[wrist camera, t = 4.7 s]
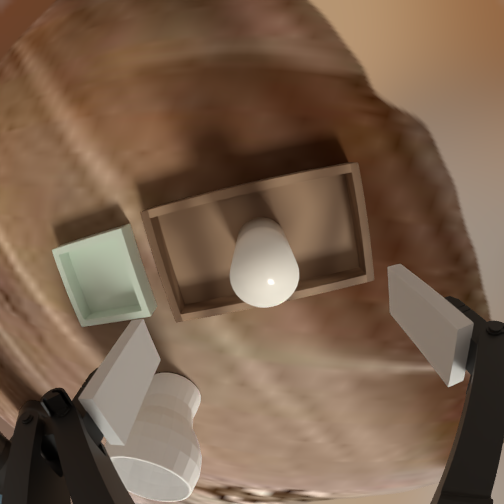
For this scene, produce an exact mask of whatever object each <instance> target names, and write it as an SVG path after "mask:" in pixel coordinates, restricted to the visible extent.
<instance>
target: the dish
mask: <svg viewBox="0 0 504 504" xmlns="http://www.w3.org/2000/svg"><path fill="white" fill-rule="evenodd" d="M52 252H53V255H54V258H55V261H56V264H57V267H58V270H59V272H60V275H61V278H62V281H63V283H64V286H65V288H66V291H67V294H68V296H69V299H70V301H71V303H72V306H73V308H74V311H75V313H76V315H77V318H78V320H79V322H80V324H81V326H82V327H85V326H92V325H99V324H106V323H112V322H119V321H125V320H131V319H138V318H144V317H150V316H151V315H152V314H153V312H154V311H155V309H156V307H157V304H156V301H155V298H154V296H153V293H152V290H151V287H150V284H149V281H148V279H147V276H146V273H145V270H144V267H143V264H142V260H141V257H140V254H139V251H138V248H137V245H136V241H135V238H134V235H133V231H132V228H131V225H130V224H127V225H123V226H120V227H116V228H113V229H110V230H106V231H103V232H100V233H96V234H93V235H90V236H87V237H84V238H81V239H77V240H74V241H71V242H68V243H65V244H62V245H60V246H58V247H56V248H54V249H52Z"/></svg>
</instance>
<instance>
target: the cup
mask: <svg viewBox="0 0 504 504" xmlns="http://www.w3.org/2000/svg"><path fill="white" fill-rule="evenodd" d="M200 402H201V395H200V392H199V390H198V388H197V387H196V386H195V385H194V384H193V383H192V382H191V381H190V380H188V379H187V378H185V377H183V376H180V375H178V374H174V373H158V374H155V375H154V376H153V379H152V381H151V383H150V386H149V388H148V390H147V393H146V395H145V397H144V400H143V402H142V405H141V407H140V409H139V412H138V414H137V417H136V419H135V421H134V424H133V426H132V429H131V431H130V434H129V436H128V439H127V441H126V444H125V446H123V445H110V444H109V442H108V441H106V444H105V449H106V451H107V453H108V455H109V457H110V459H111V461H112V463H113V465H114V467H115V469H116V471H117V473H118V475H119V477H120V478H121V480H122V482H123V484H124V486H125V488H126V489H127V491H129V492H131V493H133V494H136V495H138V496H141V497H144V498H147V499H152V500H156V501H164V502H175V501H181V500H184V499H186V498H188V497H189V496H190V494H191V493H192V491H193V489H194V487H195V485H196V483H197V481H198V479H199V476H200V470H201V462H202V456H201V451H200V446H199V442H198V439H197V437H196V435H195V432H194V430H193V418H194V416H195V414H196V412H197V410H198V407H199V405H200Z"/></svg>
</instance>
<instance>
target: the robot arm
mask: <svg viewBox="0 0 504 504" xmlns="http://www.w3.org/2000/svg"><path fill="white" fill-rule="evenodd" d="M387 268H388V283H389V303H390V314H391V315H392V316H393V318H394V319H395V320H396V321H397V322H398V324H399V325H400V326H401V327H402V329H403V330H404V331H405V332H406V333H407V335H408V336H409V337H410V338H411V340H412V341H413V342H414V343H415V345H416V346H417V347H418V349H419V350H420V351H421V352H422V354H423V355H424V356H425V357H426V359H427V360H428V361H429V363H430V364H431V365H432V367H433V368H434V369H435V370H436V372H437V373H438V374H439V376H440V377H441V378H442V380H443V381H444V382H445V384H446V385H447V386H448V387H450V386H452V385H454V384H457V383H459V382H461V381H463V379H464V375H465V370H467V371H468V372H469V373H470V374H471V376H470V380H469V384H468V388H467V391H466V399H465V403H464V407H463V411H462V415H461V419H460V423H459V426H458V430H457V433H456V437H455V440H454V443H453V446H452V449H451V452H450V455H449V458H448V461H447V464H446V467H445V469H444V472H443V475H442V477H441V480H440V482H439V485H438V487H437V490H436V492H435V494H434V497H433V499H432V501H431V503H430V504H493V499H491V492H492V489H493V485H494V481H495V477H496V473H497V469H498V464H499V460H500V455H501V450H502V445H503V439H504V323H502V322H499V321H488V322H486V321H485V320H484V319H483V318H482V317H480V316H479V315H478V314H477V313H475V312H474V311H473V310H471V309H470V308H469V307H468V306H467V305H466V306H465V304H464V303H463V302H461V301H460V300H459V299H456V298H454V297H451V296H448V297H445V298H443V297H442V296H441V295H440V294H438V293H437V292H436V291H435V290H434V289H432V288H431V287H430V286H428V285H427V284H426V283H425V282H423V281H422V280H421V279H420V278H418V277H417V276H416V275H414V274H413V273H412V272H410V271H409V270H408V269H407V268H405V267H404V266H403V265H401V264H397V265H393V266H389V267H387ZM160 360H161V359H160V357H159V355H158V352H157V350H156V348H155V346H154V343H153V341H152V339H151V336H150V334H149V331H148V329H147V327H146V324H145V322H144V319H138V320H132V321H131V322H130V323H129V325H128V326H127V327H126V329H125V330H124V332H123V333H122V334H121V336H120V337H119V339H118V340H117V342H116V343H115V344H114V346H113V347H112V349H111V350H110V352H109V353H108V354H107V356H106V357H105V359H104V360H103V362H102V363H101V365H100V366H99V368H97V369H95V370H94V371H93V372H92V373H91V374H90V375H89V376H88V378H87V379H86V382H84V384H83V385H82V387H81V388H80V390H79V391H78V393H77V394H76V396H75V397H74V399H73V400H72V401H71V399H70V398H69V396H68V395H67V393H66V391H65V390H64V389H63V388H55V389H52V390H50V391H48V392H47V393H46V394H44V395H43V397H42V398H41V402H38V401H27V402H26V403H25V404H24V405H23V406H22V408H21V409H20V411H19V415H18V418H17V422H16V426H15V430H14V434H13V436H12V437H11V439H10V440H8V439H6V437H5V436H4V435H3V434H2V433H1V432H0V504H71V502H70V496H71V499H72V502H73V504H135V503H134V501H133V500H132V498H131V496H130V495H129V493H128V491H127V489H126V488H125V486H124V484H123V482H122V480H121V478H120V477H119V475H118V473H117V471H116V469H115V467H114V465H113V463H112V461H111V459H110V457H109V455H108V453H107V451H106V449H105V447H104V445H103V444H102V443H101V440H102V438H103V436H104V437H105V438H106V440H107V441H108V442H109V444H110V445H123V446H125V444H126V441H127V439H128V436H129V434H130V431H131V429H132V426H133V424H134V421H135V419H136V417H137V414H138V412H139V409H140V407H141V405H142V402H143V400H144V397H145V395H146V393H147V390H148V388H149V386H150V383H151V381H152V379H153V376H154V374H155V372H156V369H157V367H158V365H159V362H160Z"/></svg>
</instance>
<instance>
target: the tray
mask: <svg viewBox="0 0 504 504" xmlns="http://www.w3.org/2000/svg"><path fill="white" fill-rule="evenodd" d="M140 213H141V217H142V220H143V224H144V227H145V231H146V234H147V237H148V241H149V244H150V247H151V251H152V254H153V257H154V260H155V263H156V266H157V270H158V273H159V276H160V279H161V282H162V285H163V288H164V290H165V293H166V296H167V299H168V302H169V305H170V308H171V310H172V313H173V316H174V319H175V321H176V322H181V321H187V320H193V319H199V318H204V317H210V316H215V315H220V314H226V313H231V312H236V311H241V310H246V309H251V308H256V306H252V305H250V304H247V303H246V302H244V301H243V300H241V299H240V298H239V297H238V296H237V295H236V293H235V292H234V290H233V288H232V285H231V282H230V269H231V264H232V259H233V255H234V250H235V246H236V241H237V237H238V233H239V231H240V229H241V227H242V226H243V225H244V224H245V223H246V222H247V221H249V220H251V219H253V218H257V217H266V218H270V219H272V220H274V221H275V222H277V223H278V224H279V225H280V226H281V228H282V229H283V232H284V234H285V236H286V239H287V241H288V243H289V245H290V248H291V250H292V253H293V255H294V257H295V260H296V262H297V264H298V268H299V281H298V285H297V287H296V289H295V291H294V292H293V294H292V295H291V296H290V297H289V298H288V299H287V300H286V301H289V300H294V299H298V298H303V297H307V296H312V295H316V294H320V293H324V292H329V291H333V290H337V289H341V288H345V287H349V286H353V285H357V284H361V283H365V282H369V281H373V280H374V272H373V261H372V252H371V243H370V235H369V227H368V220H367V213H366V206H365V199H364V193H363V187H362V181H361V176H360V170H359V165H358V163H353V162H349V163H343V164H337V165H332V166H326V167H321V168H315V169H310V170H305V171H300V172H295V173H290V174H285V175H281V176H276V177H271V178H267V179H262V180H257V181H253V182H249V183H244V184H240V185H236V186H232V187H227V188H223V189H219V190H215V191H211V192H207V193H203V194H199V195H195V196H192V197H188V198H184V199H180V200H177V201H173V202H169V203H166V204H162V205H158V206H155V207H151V208H149V209H146V210H144V211H142V212H140ZM284 302H285V301H284Z"/></svg>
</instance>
